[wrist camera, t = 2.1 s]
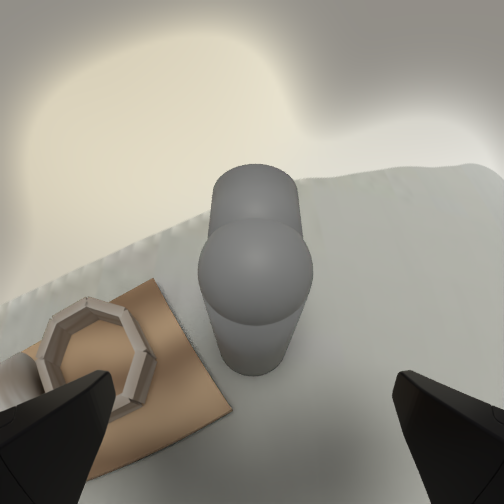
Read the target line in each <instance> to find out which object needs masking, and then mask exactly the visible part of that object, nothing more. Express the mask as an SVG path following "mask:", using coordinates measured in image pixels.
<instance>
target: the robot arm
mask: <svg viewBox="0 0 504 504" xmlns="http://www.w3.org/2000/svg"><path fill="white" fill-rule="evenodd" d="M115 398H116V392H115V388H114V384H113V380H112V376H111V373H110V372H109V371H105V370H96V371H94V372H91V373H89V374H87V375H85V376H83V377H80V378H78V379H76V380H74V381H71V382H69V383H67V384H65V385H62V386H60V387H58V388H56V389H53V390H51V391H49V392H46V393H44V394H42V395H40V396H37V397H35V398H33V399H30V400H28V401H25V402H23V403H21V404H18V405H17V406H13V407H11V408H9V409H6V410H4V411H1V412H0V504H78V501H79V498H80V496H81V493H82V490H83V488H84V485H85V483H86V480H87V478H88V475H89V472H90V470H91V467H92V465H93V463H94V460H95V458H96V455H97V453H98V450H99V448H100V446H101V443H102V441H103V438H104V436H105V433H106V429H107V426H108V422H109V419H110V415H111V412H112V409H113V405H114V402H115ZM392 398H393V402H394V405H395V408H396V412H397V415H398V418H399V422H400V425H401V429H402V432H403V435H404V437H405V440H406V442H407V445H408V447H409V449H410V452H411V454H412V456H413V459H414V461H415V464H416V466H417V469H418V471H419V474H420V476H421V479H422V481H423V484H424V486H425V489H426V491H427V494H428V497H429V499H430V502H431V504H504V410H503V409H500V408H498V407H495V406H491V405H490V404H488V403H486V402H483V401H481V400H478V399H476V398H474V397H471V396H469V395H466V394H464V393H462V392H459V391H457V390H455V389H452V388H450V387H448V386H445V385H443V384H441V383H438V382H436V381H434V380H432V379H429V378H427V377H425V376H423V375H420V374H418V373H416V372H414V371H411V370H407V371H401V372H399V373H398V375H397V377H396V381H395V385H394V389H393V393H392Z"/></svg>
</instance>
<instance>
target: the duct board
mask: <svg viewBox="0 0 504 504" xmlns="http://www.w3.org/2000/svg"><path fill="white" fill-rule="evenodd" d="M96 370H105V371H109V372H110V373H111V376H112V380H113V384H114V388H115V392H116V398H115V402H114V405H113V409H112V412H111V415H110V419H109V422H108V426H107V429H106V433H105V436H104V438H103V441H102V443H101V446H100V448H99V450H98V453H97V455H96V458H95V460H94V463H93V465H92V467H91V470H90V472H89V475H88V478H87V480H86V481H89V480H92V479H94V478H97V477H99V476H102V475H104V474H107V473H109V472H112V471H114V470H116V469H119V468H121V467H124V466H126V465H128V464H130V463H133V462H135V461H137V460H139V459H142V458H144V457H146V456H148V455H150V454H152V453H154V452H156V451H159V450H161V449H163V448H165V447H167V446H169V445H171V444H173V443H175V442H177V441H179V440H181V439H182V438H184V437H186V436H188V435H190V434H192V433H194V432H196V431H198V430H199V429H201V428H203V427H205V426H207V425H208V424H210V423H212V422H214V421H216V420H217V419H219V418H221V417H223V416H224V415H226V414H228V413H229V412H231V411H233V410H232V409H231V407H230V406H229V404H228V403H227V401H226V400H225V398H224V397H223V395H222V394H221V392H220V391H219V389H218V388H217V386H216V384H215V383H214V381H213V380H212V378H211V377H210V375H209V374H208V372H207V370H206V369H205V367H204V366H203V364H202V362H201V361H200V359H199V357H198V356H197V354H196V353H195V351H194V349H193V348H192V346H191V344H190V343H189V341H188V339H187V337H186V336H185V334H184V332H183V331H182V329H181V327H180V325H179V324H178V322H177V320H176V319H175V317H174V315H173V313H172V311H171V310H170V308H169V306H168V304H167V302H166V301H165V299H164V297H163V295H162V293H161V291H160V290H159V288H158V286H157V284H156V282H155V280H154V278H152V279H150V280H148V281H147V282H145V283H143V284H141V285H139V286H137V287H136V288H134V289H132V290H130V291H128V292H126V293H125V294H123V295H121V296H119V297H117V298H116V299H114V300H112V301H110V302H105V301H102V300H98V299H95V298H92V297H88V298H86V297H84V298H83V299H81V300H79V301H77V302H75V303H74V304H72V305H70V306H68V307H67V308H65V309H63V310H62V311H60V312H58V313H56V314H55V315H53V316H52V319H49V322H48V324H47V327H46V329H45V332H44V335H43V337H42V340H41V341H39V342H37V343H36V344H34V345H32V346H31V347H29V348H27V349H25V350H24V351H22V352H19V353H17V354H15V355H13V356H11V357H10V358H8V359H6V360H5V361H3V362H1V363H0V412H1V411H4V410H6V409H9V408H11V407H13V406H17V405H18V404H21V403H23V402H25V401H28V400H30V399H33V398H35V397H37V396H40V395H42V394H44V393H46V392H49V391H51V390H53V389H56V388H58V387H60V386H62V385H65V384H67V383H69V382H71V381H74V380H76V379H78V378H80V377H83V376H85V375H87V374H89V373H91V372H94V371H96Z"/></svg>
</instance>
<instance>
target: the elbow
mask: <svg viewBox="0 0 504 504" xmlns="http://www.w3.org/2000/svg"><path fill="white" fill-rule="evenodd" d="M198 280H199V285H200V289H201V292H202V296H203V299H204V302H205V306H206V309H207V312H208V315H209V318H210V322H211V325H212V328H213V331H214V334H215V337H216V340H217V343H218V346H219V350H220V353H221V356H222V358H223V360H224V361H225V363H226V364H227V365H228V366H229V367H230V368H231V369H232V370H234V371H236V372H238V373H240V374H243V375H247V376H259V375H263V374H266V373H268V372H270V371H272V370H273V369H274V368H276V367H277V366H278V365H279V363H280V362H281V361H282V359H283V357H284V354H285V352H286V350H287V347H288V345H289V342H290V340H291V338H292V335H293V333H294V330H295V328H296V325H297V323H298V320H299V318H300V315H301V313H302V310H303V307H304V305H305V302H306V300H307V297H308V294H309V292H310V288H311V285H312V280H313V263H312V258H311V255H310V252H309V249H308V247H307V245H306V243H305V241H304V240H303V234H302V225H301V216H300V207H299V199H298V191H297V187H296V184H295V182H294V181H293V179H292V178H291V177H290V176H289V175H288V174H286V173H285V172H284V171H282V170H280V169H278V168H275V167H272V166H269V165H263V164H248V165H242V166H238V167H236V168H233V169H231V170H229V171H227V172H226V173H224V174H223V175H222V176H221V177H220V178H219V179H218V180H217V182H216V183H215V186H214V189H213V195H212V204H211V213H210V222H209V231H208V240H207V241H206V243H205V245H204V247H203V249H202V251H201V254H200V257H199V263H198Z"/></svg>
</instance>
